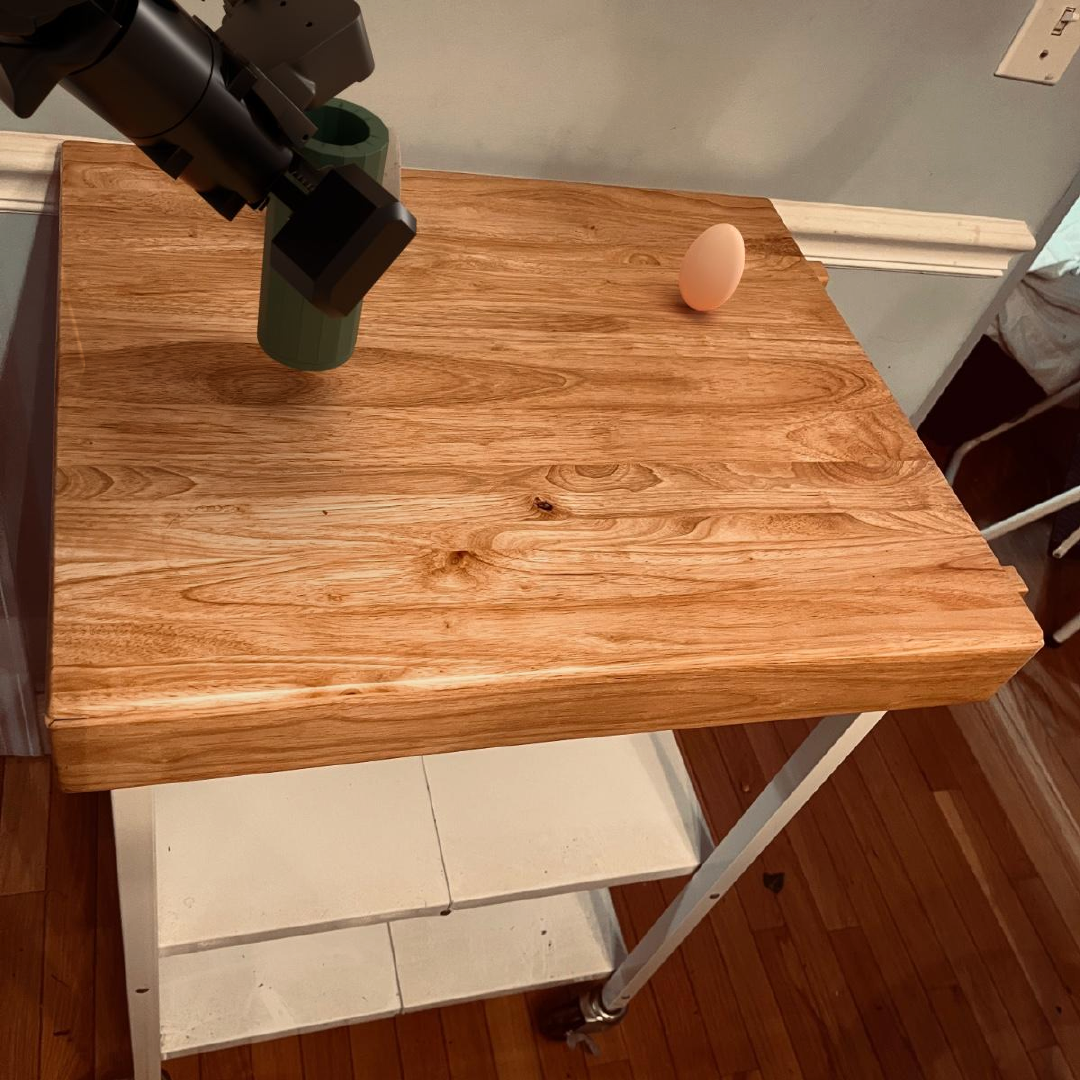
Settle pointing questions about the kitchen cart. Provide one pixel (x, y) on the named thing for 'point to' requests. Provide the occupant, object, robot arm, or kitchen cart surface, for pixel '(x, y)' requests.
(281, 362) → the hollow cylinder
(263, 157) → the robot arm
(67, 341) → the kitchen cart surface
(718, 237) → the egg
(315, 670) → the kitchen cart surface
